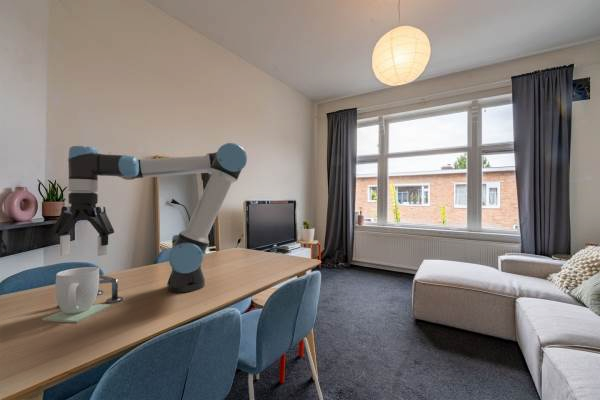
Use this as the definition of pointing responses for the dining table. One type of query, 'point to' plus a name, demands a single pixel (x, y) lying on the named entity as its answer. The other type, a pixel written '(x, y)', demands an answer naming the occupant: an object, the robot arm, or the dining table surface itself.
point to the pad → (76, 314)
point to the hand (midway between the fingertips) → (83, 254)
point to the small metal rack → (114, 282)
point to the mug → (77, 289)
